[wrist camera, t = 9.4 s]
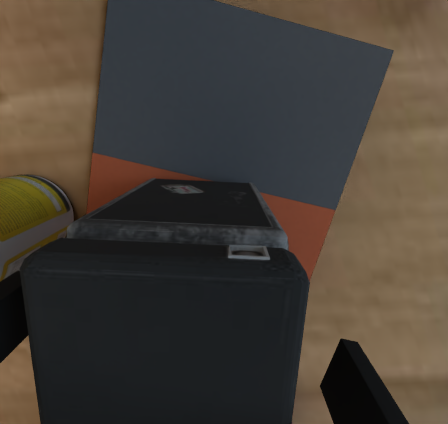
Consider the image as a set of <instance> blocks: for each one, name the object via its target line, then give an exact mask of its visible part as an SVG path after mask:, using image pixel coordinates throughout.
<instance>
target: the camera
mask: <svg viewBox="0 0 448 424" xmlns="http://www.w3.org/2000/svg"><path fill="white" fill-rule="evenodd" d="M19 270H20V277H21V284H22V292H23V299H24V306H25V313H26V320H27V328H28V335H29V342H30V349H31V357H32V364H33V371H34V378H35V386H36V393H37V400H38V407H39V415H40V422H41V424H291V422H292V414H293V407H294V399H295V391H296V384H297V376H298V368H299V361H300V353H301V345H302V338H303V330H304V322H305V315H306V307H307V299H308V292H309V284H310V282H309V279H308V276H307V273H306V271H305V269H304V268H303V266H302V265H301V263H300V262H299V260H298V259H297V257H296V256H295V255H294V253H292V252H290V251H289V243H288V237H287V235H286V233H285V232H284V230H283V228H282V227H281V225H280V224H279V222H278V221H277V219H276V217H275V216H274V214H273V213H272V211H271V210H270V208H269V206H268V205H267V203H266V202H265V200H264V199H263V197H262V195H261V194H260V192H259V191H258V189H257V188H256V186H255V184H254V183H250V182H249V183H238V182H217V181H195V180H174V179H156V178H151V179H149V180H147V181H146V182H144V183H142V184H140V185H138V186H137V187H135V188H133V189H131V190H129V191H128V192H126V193H124V194H122V195H120V196H119V197H117V198H115V199H113V200H111V201H110V202H108V203H106V204H104V205H103V206H101V207H99V208H97V209H95V210H94V211H92V212H90V213H88V214H86V215H85V216H83V217H81V218H79V219H77V220H76V221H74V222H72V223H70V225H69V226H68V227H67V238H59V239H57V240H54V241H52V242H49V243H48V244H46V245H44V246H43V247H41V248H39V249H38V250H36V251H34V252H33V253H31V254H30V255H29V256H27V257H26V258H25V259H24V260H23V263H22V265H21V267H20V269H19Z"/></svg>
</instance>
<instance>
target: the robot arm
mask: <svg viewBox="0 0 448 424" xmlns="http://www.w3.org/2000/svg"><path fill="white" fill-rule="evenodd" d="M27 336H28V328H27V320H26V313H25V306H24V299H23V292H22V284H21V277H20V271H19V270H17V271H16V272H14V273H13V274H11V275H10V276H8V277H7V278H5V279H3V280H2V281H0V363H1V362H2V361H3V360H4V359H5V358H6V357H7V356H8V355H9V354H10V353H11V352H12V351H13V350H14V349H15V348H16V347H17V346H18V345H19V344H20V343H21V342H22V341H23V340H24V339H25V338H26V337H27ZM320 388H321V390H322V393H323V396H324V398H325V401H326V404H327V407H328V409H329V412H330V415H331V417H332V420H333V423H334V424H409V423H408V421H407V420H406V418H405V417H404V415H403V413H402V412H401V410H400V409H399V407H398V405H397V404H396V402H395V401H394V399H393V398H392V396H391V394H390V393H389V391H388V390H387V388H386V386H385V385H384V383H383V382H382V380H381V379H380V377H379V375H378V374H377V372H376V371H375V369H374V367H373V366H372V364H371V363H370V361H369V359H368V358H367V356H366V355H365V353H364V352H363V350H362V348H361V347H360V345H359V344H358V342H355V341H350V340H346V339H340V342H339V344H338V346H337V348H336V351H335V353H334V355H333V358H332V360H331V362H330V364H329V367H328V369H327V371H326V373H325V376H324V378H323V380H322V383H321V385H320Z"/></svg>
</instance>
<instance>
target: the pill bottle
mask: <svg viewBox="0 0 448 424" xmlns="http://www.w3.org/2000/svg"><path fill="white" fill-rule="evenodd" d="M72 222H74V214H73V209H72V206H71V203H70V201H69V199H68V198H67V196H66V195H65V194H64V192H63V191H62V190H61V189H60V188H59V187H58V186H56V185H55V184H54V183H52V182H50V181H49V180H47V179H44V178H42V177H38V176H34V175H17V176H11V177H6V178H1V179H0V281H2V280H3V279H5V278H7V277H8V276H10V275H11V274H13V273H14V272H16V271H17V270H19V269H20V267H21V265H22V263H23V260H24V259H25V258H26V257H27V256H29V255H30V254H31V253H33V252H34V251H36V250H38V249H39V248H41V247H43V246H44V245H46V244H48V243H49V242H52V241H54V240H57V239H59V238H67V227H68V226H69V225H70V223H72ZM19 271H20V270H19Z"/></svg>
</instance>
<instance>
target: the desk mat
mask: <svg viewBox="0 0 448 424" xmlns="http://www.w3.org/2000/svg"><path fill="white" fill-rule="evenodd" d="M392 54H393V50H390V49H386V48H383V47H379V46H376V45H372V44H368V43H365V42H361V41H358V40H354V39H350V38H347V37H343V36H340V35H336V34H332V33H329V32H325V31H322V30H318V29H314V28H311V27H307V26H304V25H300V24H296V23H293V22H289V21H286V20H282V19H279V18H275V17H271V16H268V15H264V14H261V13H257V12H253V11H250V10H246V9H243V8H239V7H235V6H232V5H228V4H225V3H221V2H217V1H214V0H108V5H107V15H106V25H105V35H104V45H103V54H102V64H101V74H100V84H99V94H98V104H97V114H96V124H95V134H94V143H93V153H92V163H91V173H90V183H89V193H88V203H87V213H86V214H88V213H90V212H92V211H94V210H95V209H97V208H99V207H101V206H103V205H104V204H106V203H108V202H110V201H111V200H113V199H115V198H117V197H119V196H120V195H122V194H124V193H126V192H128V191H129V190H131V189H133V188H135V187H137V186H138V185H140V184H142V183H144V182H146V181H147V180H149V179H151V178H156V179H174V180H195V181H217V182H238V183H249V182H250V183H254V184H255V186H256V188H257V189H258V191H259V192H260V194H261V195H262V197H263V199H264V200H265V202H266V203H267V205H268V206H269V208H270V210H271V211H272V213H273V214H274V216H275V217H276V219H277V221H278V222H279V224H280V225H281V227H282V228H283V230H284V232H285V233H286V235H287V237H288V243H289V251H290V252H292V253H294V255H295V256H296V257H297V259H298V260H299V262H300V263H301V265H302V266H303V268H304V269H305V271H306V273H307V276H308V279H309V281H310V278H311V276H312V273H313V270H314V267H315V265H316V262H317V259H318V256H319V254H320V251H321V248H322V246H323V243H324V240H325V237H326V235H327V232H328V229H329V226H330V224H331V221H332V218H333V215H334V213H335V210H336V207H337V205H338V202H339V199H340V196H341V194H342V191H343V188H344V185H345V183H346V180H347V177H348V174H349V172H350V169H351V166H352V164H353V161H354V158H355V155H356V153H357V150H358V147H359V144H360V142H361V139H362V136H363V133H364V131H365V128H366V125H367V123H368V120H369V117H370V114H371V112H372V109H373V106H374V103H375V101H376V98H377V95H378V92H379V90H380V87H381V84H382V82H383V79H384V76H385V73H386V71H387V68H388V65H389V62H390V60H391V57H392Z"/></svg>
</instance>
